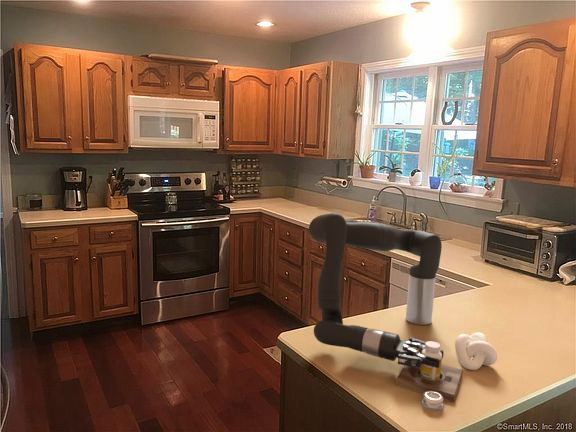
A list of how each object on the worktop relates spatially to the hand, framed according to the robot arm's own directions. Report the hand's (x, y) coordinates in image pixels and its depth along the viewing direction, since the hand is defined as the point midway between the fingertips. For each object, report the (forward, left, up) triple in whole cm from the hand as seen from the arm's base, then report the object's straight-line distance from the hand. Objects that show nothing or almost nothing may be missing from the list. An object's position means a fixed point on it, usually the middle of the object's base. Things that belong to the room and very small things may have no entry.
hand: (441, 359), depth 125 cm
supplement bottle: (0, -3, -6) cm, 7 cm away
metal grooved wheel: (+12, +1, -7) cm, 14 cm away
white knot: (-16, +7, -7) cm, 19 cm away
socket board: (0, -2, -7) cm, 8 cm away
